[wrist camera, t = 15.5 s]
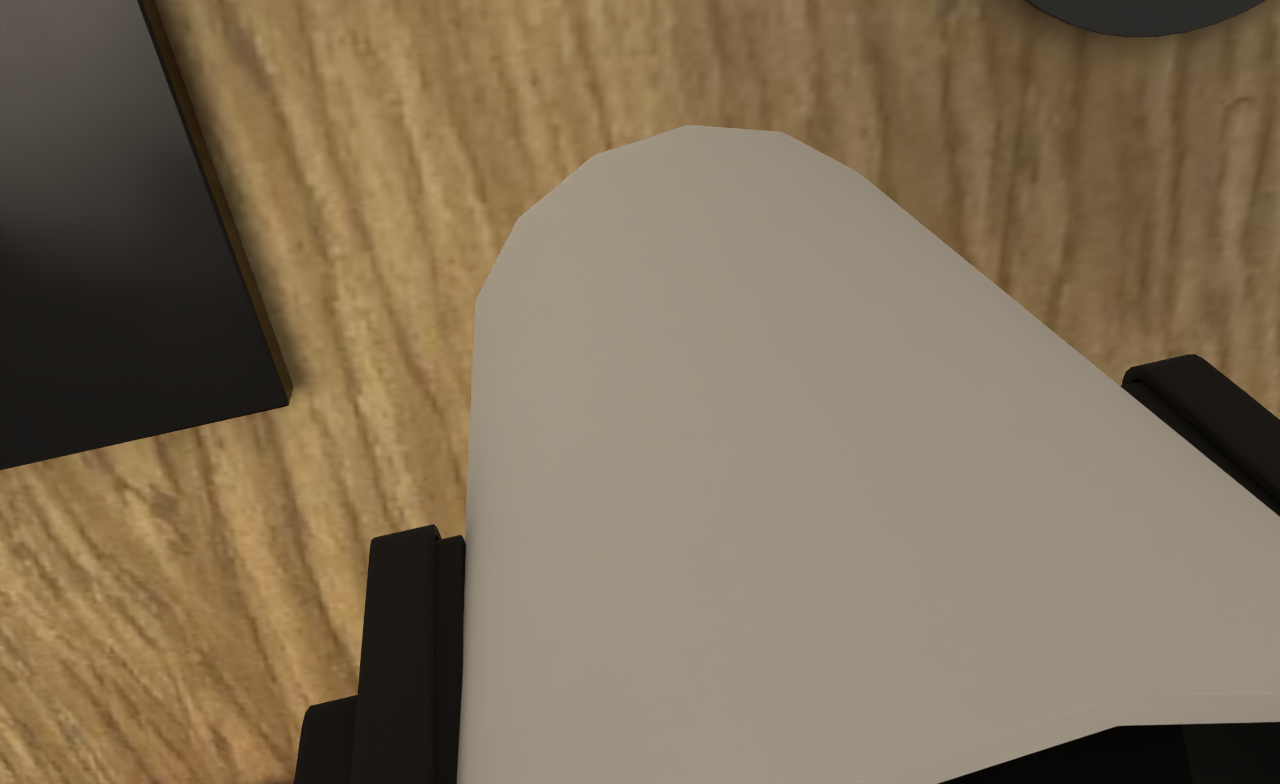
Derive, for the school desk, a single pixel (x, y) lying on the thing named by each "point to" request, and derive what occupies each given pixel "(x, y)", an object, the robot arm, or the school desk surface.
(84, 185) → the thin black tile
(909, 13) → the school desk surface
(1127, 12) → the coaster
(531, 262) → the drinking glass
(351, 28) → the school desk surface
